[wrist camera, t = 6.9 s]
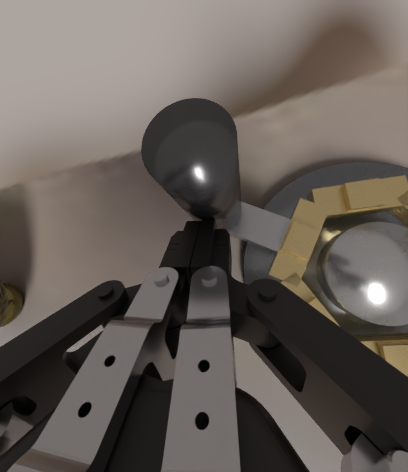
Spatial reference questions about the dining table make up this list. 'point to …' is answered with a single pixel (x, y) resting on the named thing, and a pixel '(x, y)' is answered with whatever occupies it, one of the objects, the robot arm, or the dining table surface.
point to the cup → (9, 303)
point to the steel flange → (349, 255)
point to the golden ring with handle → (253, 218)
